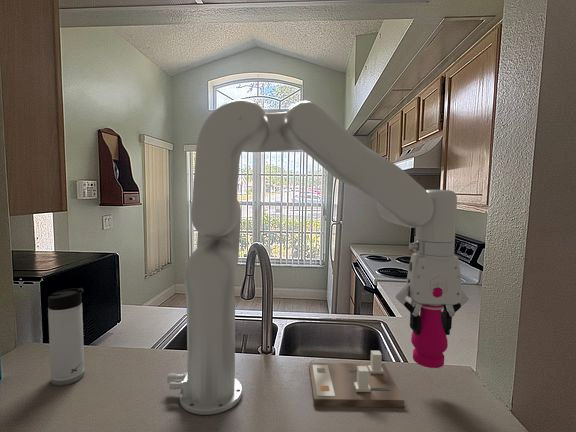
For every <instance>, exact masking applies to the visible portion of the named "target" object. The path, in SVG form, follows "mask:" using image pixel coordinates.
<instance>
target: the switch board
mask: <svg viewBox="0 0 576 432" xmlns="http://www.w3.org/2000/svg"><path fill="white" fill-rule="evenodd" d="M308 365H309V366H308V370H309V372H308V373H309V379H310V385H311V394H312V401H313V407H340V408H341V407H345V408H346V407H349V408H351V407H353V408H354V407H355V408H366V407H367V408H405V399H404V396H403V395H402V393H401V391H400V389H399V388H398V386H397V384H396V382H395V381H394V379H393V377H392V375H391V374H390V371H389V370H388V369H387V367H386V364H385V363H381V367H382V369H383V371H384V374H377V373H370V372H369V382H368V383H369V386H370V388H371V392H356V390H355V387H354V382H357V366H367V368H368V365H370V363H362V362H361V363H360V362H359V363H353V362H350V363H349V362H348V363H346V362H345V363H344V362H338V363H337V362H309V363H308ZM368 370H369V369H368Z"/></svg>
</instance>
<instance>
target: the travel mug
mask: <svg viewBox="0 0 576 432" xmlns="http://www.w3.org/2000/svg"><path fill="white" fill-rule="evenodd" d="M83 293H84V288H83V287H79V288H78V287H76V288H75V287H74V288H67V289H62V290H58V291H56V292H54V293H51V294H50V295H49V296H48V297H47V303H48V304H47V310H48V311H47V318H48V337H49V338H48V342H49V363H50V364H49V367H50V383H51V384H52V385H55V386H67V385H71V384H73V383H76V382H78V381H79V380H81V379H82V378H83V377H84V376H85V352H84V349H85V347H84V322H83V321H84V320H83V302H82V301H83V300H82V294H83Z"/></svg>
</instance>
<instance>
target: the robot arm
mask: <svg viewBox="0 0 576 432" xmlns="http://www.w3.org/2000/svg"><path fill="white" fill-rule="evenodd" d="M296 150H297V151H299V150H302V151H303V152H304V153H306V154H307V156H309V157H311V158H312V159H313V160H314V162H315V161H316V162H317V164H319V165H320V166H321V167H322V168H323V169H325V171H327V172H328V173H329V174H330V175H331V176H333V177H334V179H337V180H338V181H340V182H341V183H343V184H345V185H347V186H350V187H353V188H355V189H357V190H359V191H361V192H363V193H364V194H366V195H368V197H370V198H371V199H373V200H375V202H376V210H377V213H378V215H379V216H380V217H381V218H382V219H383V220H384V221H386V222H388V223H391V224H395V225H398V226H399V225H400V226H403V227H405V228H411V229H412V228H413V229H414V228H415V239H414V242H409V243H408V249H409V250H413V251H414V252H413V253H412V254H411V257H410V261H409V265H408V270H407V274H406V275H407V277H406V285H405V286H404V287H403V288H402V289H400V291H399V292H398V293H397V294H396V295H395V299H396V300H397V301H398V302H399V303H401V304H402V306H404V307H405V308H406V309H407V310H408V312H409V315H410V316H409V327H410V329H411V330H412V332H413V331H414V332H415V334H416V335H419V334H420V327H421V317H420V309H421V307H422V305H443V306H444V308H443V309H442V310H441V321H442V325H443V328H444V331H445V334H446V336H450V334H451V333H450V332H451V330H452V325H453V323H452V322H453V317H454V316H455V315H456V313H457V311H459V310H460V309H461V307H462V306H463V305H465V304H466V303H467V302H468V301H469V297H468V295H466V294H465V292H464V291H463V290H462V273H461V266H460V259H459V256H457V255H455V244H456V242H455V240H456V224H457V207H458V206H457V205H458V197H457V196H458V195H457V194H456V192H455V191H453V190H450V189H425V188H424V187H423V186H422V185H421V184H419V182H417V181H416V180H415V179H414V178H413V177H412V176H411V175H409V174H408V172H406V171H404V169H402V168H401V167H399V166H398V165H397V164H395V163H393V162H392V161H390V160H389V159H387V158H385V157H383V156H382V155H380V154H379V153H378V152H376V151H374V150H373V149H371V148H369V147H368V146H366V145H365V144H363V143H362V142H361V141H360V140H359V139H357V137H355V136H354V135H353V134H352V133H351V132H349V130H347V129H346V128H345V127H343V126H342V125H341V124H340V123H339V122H338V121H337V120H336V119H335V118H333V117H332V116H331V115H330V114H329V113H327V111H326V110H324V109H323V108H322V107H320V106H319V105H318V104H317V103H315V102H313V101H310V100H301V101H298V102H295V103H294V104H293V105H292V106H290V107H289V108H288V110H287V111H282V112H281V111H280V112H265V110H264V109H263V108H262V106H260V105H259V104H258V103H257V102H256V101H253V100H250V99H247V98H242V99H240V98H239V99H235V100H231V101H228V102H226V103H224V104H222V105H220V106H218V107H217V108H216V109H215V110H214V111H213V112H211V113H210V114H209V115H208V117H207V118H206V119H205V121H204V123H203V124H202V127H201V128H200V130H199V134H198V137H197V142H196V149H195V160H194V161H195V162H194V174H193V186H192V187H193V188H192V201H191V211H190V217H191V223H192V226H193V227H194V230H195V231H196V232H197V238H196V239H197V240H196V241H197V242H196V249H195V250H194V251H193V252H191V254H190V256H189V257H188V259H187V261H186V264H185V268H184V272H183V283H184V284H183V285H184V290H185V291H184V292H185V300H186V301H185V303H186V327H187V328H186V335H187V336H186V341H187V342H186V347H187V349H186V350H187V353H186V354H187V355H186V356H187V357H186V358H187V365H186V366H187V367H186V368H187V371H185V372H183V373H168V375H167V377H166V378H167V379H166V383H167V384H169V386H168V388H169V390H180V393H179V403H180V406H181V407H182V408H183V409H184V410H185V411H186V412H189V413H192V414H195V415H203V416H205V415H208V416H210V415H215V414H221V413H223V412H226V411H228V410H229V409H231V408H233V407H235V406H236V405H237V404H238V403H239V402H240V400H241V399H242V396H243V386H242V384H241V382H240V381H239V379H237V378H236V376H235V373H236V364H235V363H236V296H235V295H236V293H235V292H236V290H235V289H236V288H235V286H236V285H235V284H236V283H235V282H236V272H237V267H238V263H239V257H240V254H239V252H240V239H241V220H242V209H241V208H242V207H241V204H240V201H239V200H238V185H239V183H238V182H239V177H240V160H241V159H240V158H241V155H242V152H246V153H262V152H263V153H264V152H265V153H266V152H267V153H268V152H284V151H285V152H287V151H296ZM437 287H438V288H441V289H442V290H443V291H442V296H441V297H438V298H436V297H434V296H433V292H434V290H433V289H434V288H437ZM432 291H433V292H432ZM407 297H408V298H409V299H411V300H410V302H409V301H408V300H407V299H406V298H407Z"/></svg>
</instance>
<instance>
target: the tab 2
mask: <svg viewBox="0 0 576 432" xmlns="http://www.w3.org/2000/svg"><path fill="white" fill-rule="evenodd" d="M382 359H383V355H382V352H381V351H380V350H370V359H369V361H370V363H369V364H370V365H368V369H369V372H370V373H377V374H384V371H383V369H382V367H381V364H383V363H382V361H383V360H382Z"/></svg>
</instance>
